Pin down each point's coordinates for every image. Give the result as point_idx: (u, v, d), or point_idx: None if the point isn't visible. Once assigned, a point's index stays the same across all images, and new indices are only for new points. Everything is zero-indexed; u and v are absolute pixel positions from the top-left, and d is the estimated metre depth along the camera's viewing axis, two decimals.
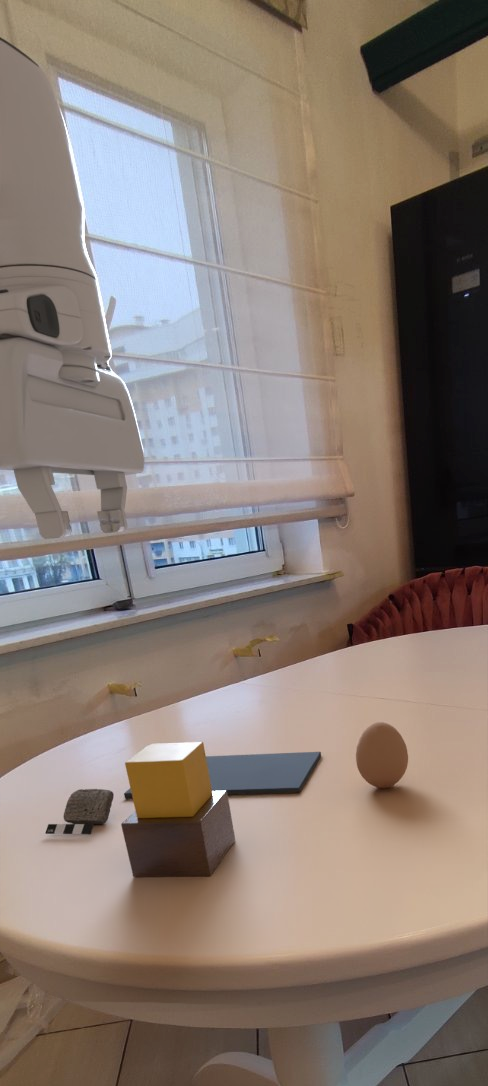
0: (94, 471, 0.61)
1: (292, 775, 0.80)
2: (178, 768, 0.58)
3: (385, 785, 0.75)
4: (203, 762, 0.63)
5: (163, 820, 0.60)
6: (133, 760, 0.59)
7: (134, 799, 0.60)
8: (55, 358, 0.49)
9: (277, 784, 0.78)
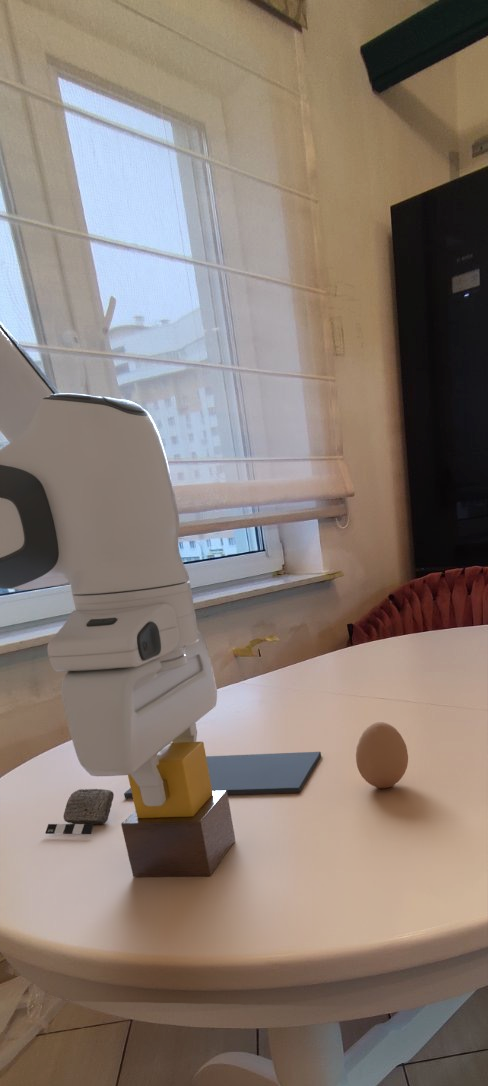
0: None
1: (292, 775, 0.80)
2: (178, 768, 0.58)
3: (385, 785, 0.75)
4: (203, 762, 0.63)
5: (163, 820, 0.60)
6: None
7: (134, 799, 0.60)
8: (156, 669, 0.53)
9: (277, 784, 0.78)
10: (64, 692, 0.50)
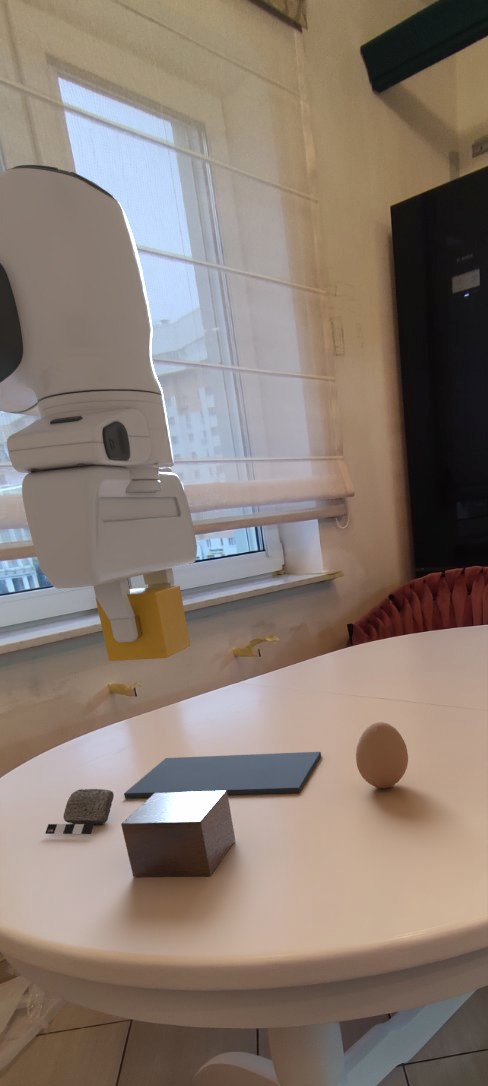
0: None
1: (292, 775, 0.80)
2: (151, 602, 0.55)
3: (385, 785, 0.75)
4: (180, 607, 0.59)
5: (163, 820, 0.60)
6: None
7: (105, 639, 0.57)
8: (125, 479, 0.50)
9: (277, 784, 0.78)
10: (24, 490, 0.47)
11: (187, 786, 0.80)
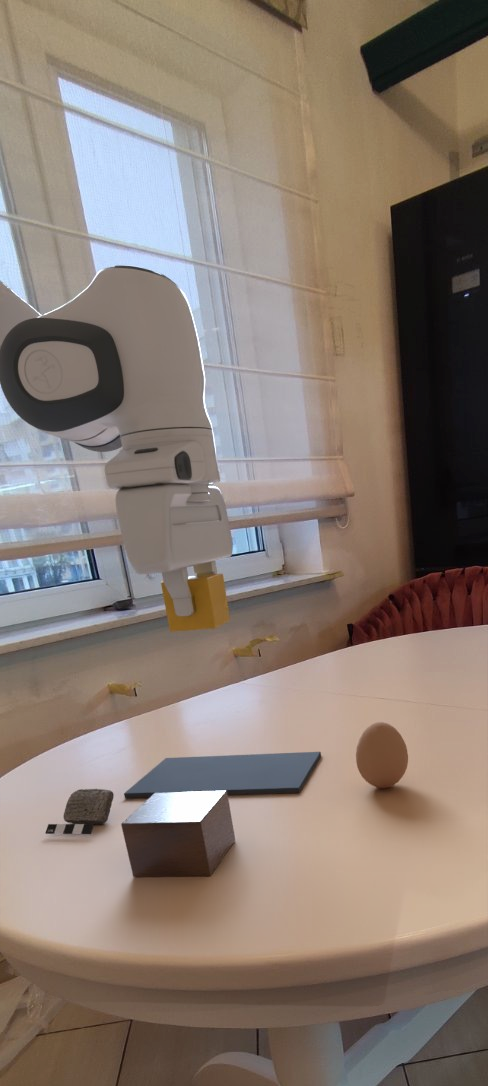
0: None
1: (292, 775, 0.80)
2: (204, 585, 0.73)
3: (385, 785, 0.75)
4: (223, 590, 0.77)
5: (163, 820, 0.60)
6: None
7: (168, 614, 0.74)
8: (187, 493, 0.67)
9: (277, 784, 0.78)
10: (118, 502, 0.64)
11: (187, 786, 0.80)
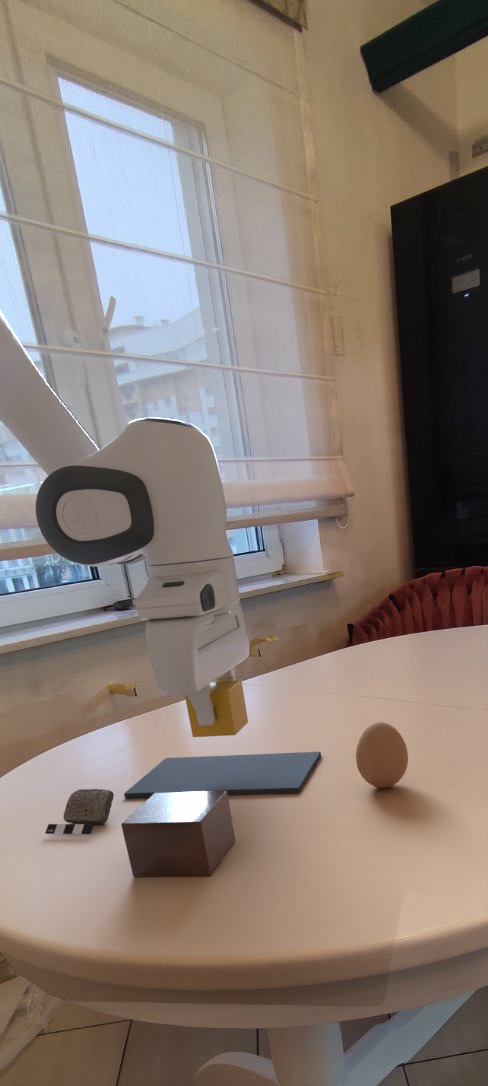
0: None
1: (292, 775, 0.80)
2: (225, 697, 0.78)
3: (385, 785, 0.75)
4: (241, 696, 0.82)
5: (163, 820, 0.60)
6: None
7: (191, 722, 0.80)
8: (211, 619, 0.73)
9: (277, 784, 0.78)
10: (148, 634, 0.69)
11: (187, 786, 0.80)
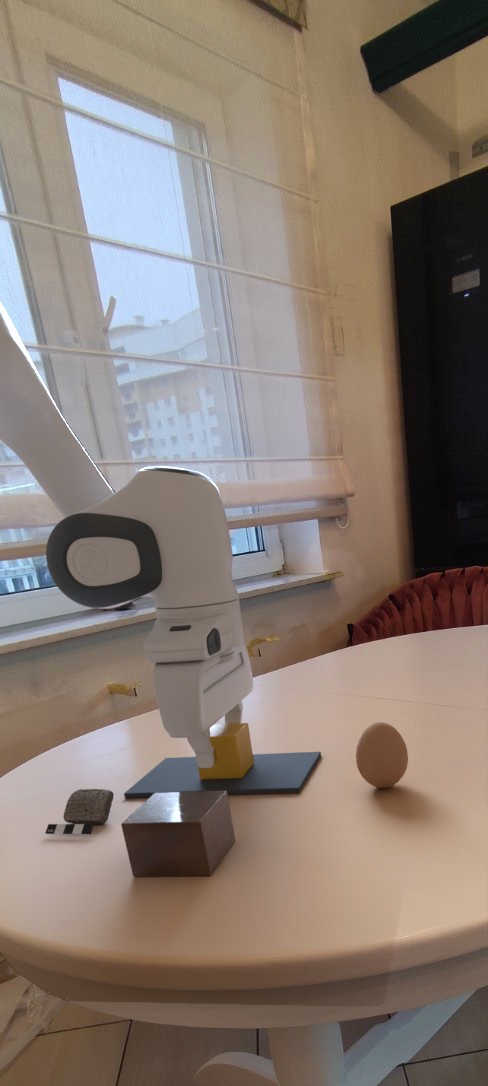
0: None
1: (292, 775, 0.80)
2: (232, 741, 0.80)
3: (385, 785, 0.75)
4: (248, 738, 0.84)
5: (163, 820, 0.60)
6: None
7: None
8: (216, 662, 0.74)
9: (277, 784, 0.78)
10: (155, 677, 0.71)
11: (187, 786, 0.80)
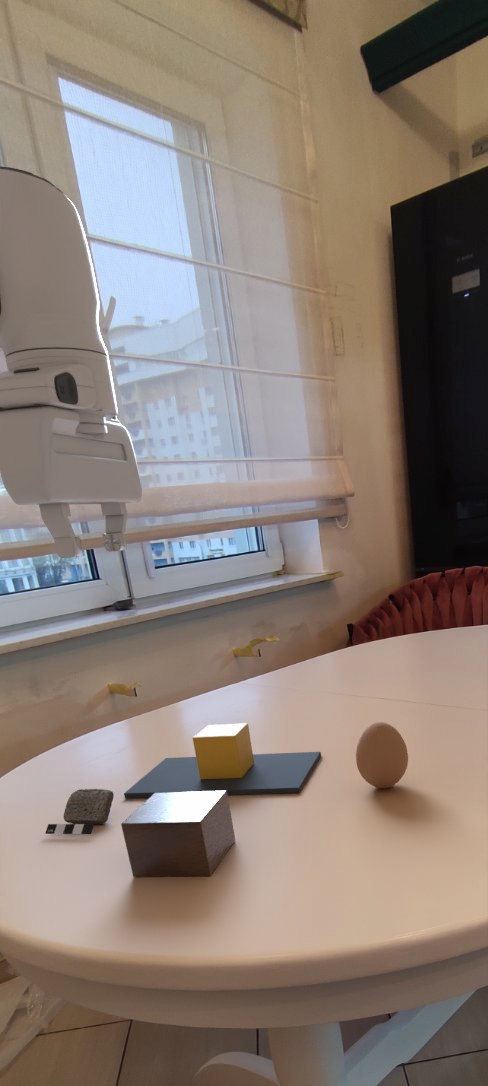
0: None
1: (292, 775, 0.80)
2: (232, 741, 0.80)
3: (385, 785, 0.75)
4: (248, 738, 0.84)
5: (163, 820, 0.60)
6: (198, 736, 0.81)
7: (198, 765, 0.81)
8: (74, 420, 0.63)
9: (277, 784, 0.78)
10: None
11: (187, 786, 0.80)
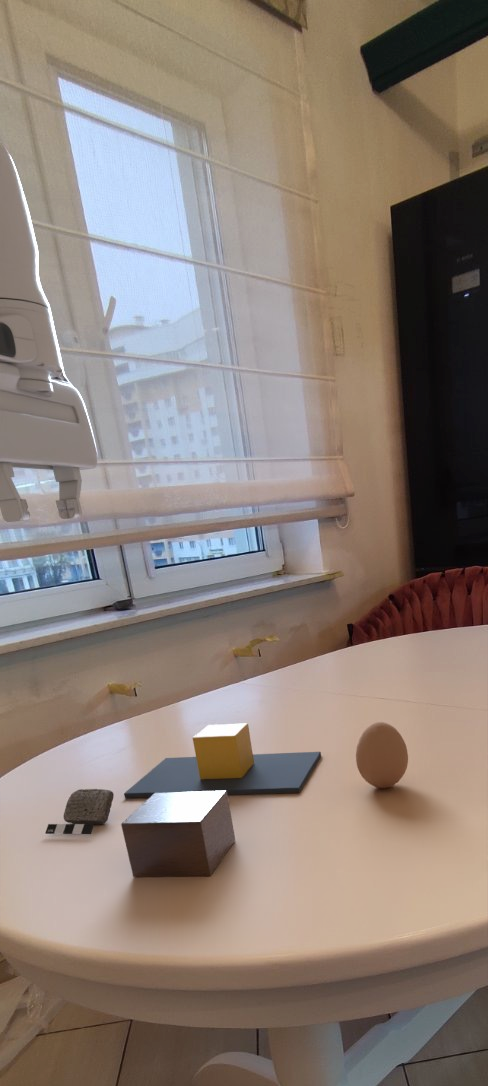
0: (53, 466, 0.72)
1: (292, 775, 0.80)
2: (232, 741, 0.80)
3: (385, 785, 0.75)
4: (248, 738, 0.84)
5: (163, 820, 0.60)
6: (198, 736, 0.81)
7: (198, 765, 0.81)
8: (12, 374, 0.60)
9: (277, 784, 0.78)
10: None
11: (187, 786, 0.80)
